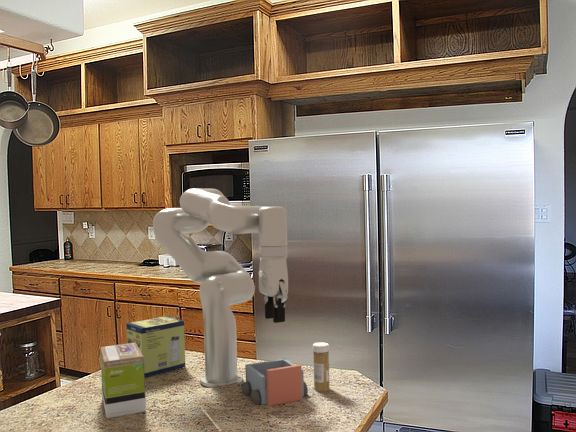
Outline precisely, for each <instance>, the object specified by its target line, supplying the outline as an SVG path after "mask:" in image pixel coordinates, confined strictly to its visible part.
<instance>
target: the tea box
mask: <svg viewBox="0 0 576 432" xmlns="http://www.w3.org/2000/svg"><path fill="white" fill-rule="evenodd" d="M99 351H100V352H99V354H100V371H101V372H100V373H101V375H100V376H101V377H100V378H101V395H102V402H103V408H104V413H105V417H106V419H110V418H116V417H122V416H128V415H134V414H140V413H145V412H146V410H147V408H146V407H147V405H146V403H147V402H146V382H145V381H146V379H145V377H144V357H143V355H142V353H141V351H140V349H139V347H138V346H137V344H136V342H135V343H128V344H127V343H122V344H114V345H113V344H112V345H108V346H107V345H106V346H100V348H99Z"/></svg>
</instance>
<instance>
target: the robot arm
mask: <svg viewBox="0 0 576 432" xmlns="http://www.w3.org/2000/svg"><path fill="white" fill-rule="evenodd" d="M229 200H230V199H228V198H227V197H226V196H225V195H224V194H223V192H222V191H220V190H219V189H216V188H199V187H197V188H189V189H187V190H185V191H184V192H183V193H182V194H181V196H180V197H179V205H180V207H171V208H164V209H162V210H160V211H158V212H157V213H156V214H155V215H154V217H153V220H152V229H153V230H152V231H153V234H154V237H155V239H156V241H157V243H158V244H159V246H160V247H161V248H162V249H163V250H164V251H165V252H166V253H167V255H169V256H170V257H171V258H172V259H173V260H174V261H175V263H176V264H177V265H178V266H179V267H180V269H182V271H183V272H184V273H185V275H186V276H187V277H188V279H190V280H191V281H192V282H194V283H195V284H200V285H199V299H200V302H201V307H202V317H203V337H204V339H203V340H204V342H203V343H204V344H203V345H204V374H203V375H201V376H200V377H199V383H200V385H202V386H204V387H206V388H207V387H208V388H215V387H223V386H224V387H225V386H230V385H234V384H239V383H242V381H244V378H243V377H244V376H243V374H242V373H240V372H239V371H238V347H237V345H238V344H237V322H236V321H237V320H236V317H235V314H234V313H233V310H232V309H231V306H233V305H239V304H243V303H246V302H248V301H250V300H251V299H252V298H253V297H254V295H255V291H256V287H255V282H254V279H252V277H251V275H250V274H249V272H248V271H247V270H246V269H245V268H244V267H243V266H242V265H241V264H240V263H239V262H238V261H237V260H236V259H235V258H234V256H233V255H232V254H230V253H229V252H227V251H224V250H213V251H211V250H210V251H206V250H204V249H202V248H201V246H199V245H198V244H197V242H195V240H193V239H191V238H190V237H189V236H187V235H186V234H197V233H200V232H203V230H205V229H206V228H208V226H210V224H211V226H212V227H213V228H215V229H216V230H218V231H221V232H225V233H228V234H230V235H231V234H232V235H244V234H258V247H259V249H258V251H259V252H258V253H259V265H258V266H259V267H258V270H259V271H258V291H259V292H260V293H261V294H263V297H264V298H263V302H264V318H265V319H267V320H268V319H272V320H273V324H274V323H275V324H279V323H284V322H285V321H286V309H285V308H286V301H287V299H288V298H289V297H288V293H289V271H288V264H287V258H288V223H287V222H288V219H287V217H288V214H287V209H286V207H284V206H280V205H279V206H275V205H274V206H273V205H272V206H264V205H263V206H262V205H237V206H235V205H231V203H230V201H229Z"/></svg>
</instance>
